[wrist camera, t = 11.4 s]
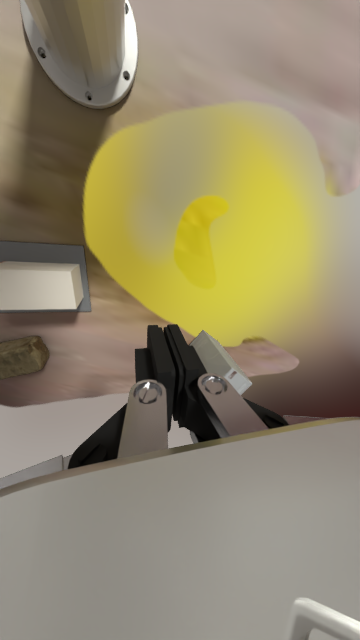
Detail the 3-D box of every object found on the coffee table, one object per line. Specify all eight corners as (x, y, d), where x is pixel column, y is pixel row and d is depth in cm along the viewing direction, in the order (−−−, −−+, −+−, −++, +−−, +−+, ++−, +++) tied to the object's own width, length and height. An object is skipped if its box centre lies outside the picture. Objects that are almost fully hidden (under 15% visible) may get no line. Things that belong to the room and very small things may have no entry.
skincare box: (197, 363, 51) (223, 415, 38) (178, 351, 48) (199, 403, 34) (220, 340, 50) (256, 386, 36) (202, 326, 46) (233, 370, 33)
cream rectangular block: (-20, 268, 26) (70, 271, 29) (4, 261, 32) (79, 264, 34) (-6, 310, 29) (76, 309, 32) (14, 296, 34) (83, 296, 37)
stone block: (-25, 346, 37) (-45, 363, 32) (41, 331, 38) (30, 345, 34) (-7, 369, 39) (-23, 388, 35) (54, 354, 41) (45, 370, 37)
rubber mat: (-67, 237, 29) (-69, 237, 28) (83, 245, 34) (83, 246, 33) (-35, 312, 34) (-36, 313, 33) (91, 310, 39) (91, 311, 38)
